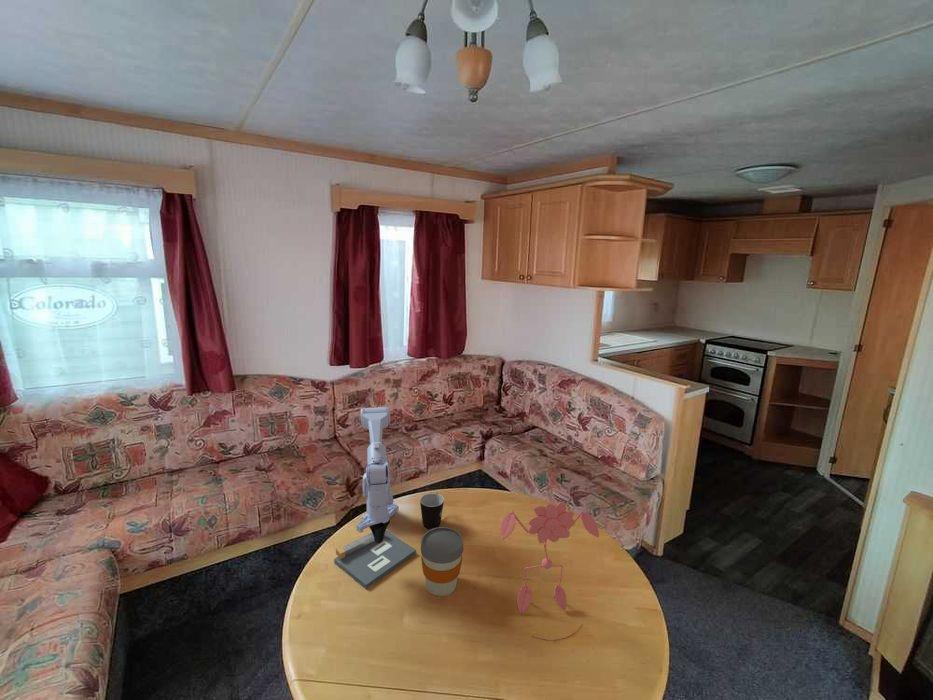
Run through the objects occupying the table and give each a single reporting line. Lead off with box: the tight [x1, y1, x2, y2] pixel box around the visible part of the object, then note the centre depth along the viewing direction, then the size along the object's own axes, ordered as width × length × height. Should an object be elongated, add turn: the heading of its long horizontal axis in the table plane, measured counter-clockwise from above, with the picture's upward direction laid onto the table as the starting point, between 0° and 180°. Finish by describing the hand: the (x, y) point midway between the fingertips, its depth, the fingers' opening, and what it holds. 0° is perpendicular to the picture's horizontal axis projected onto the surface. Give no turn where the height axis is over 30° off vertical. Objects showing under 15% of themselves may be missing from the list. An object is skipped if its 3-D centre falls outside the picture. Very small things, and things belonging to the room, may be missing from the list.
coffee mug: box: [419, 492, 445, 531], centre depth 152 cm, size 12×9×10 cm
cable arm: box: [335, 532, 375, 559], centre depth 136 cm, size 15×3×2 cm, turn 133°
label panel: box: [333, 529, 417, 590], centre depth 133 cm, size 20×16×4 cm
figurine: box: [499, 501, 600, 643], centre depth 110 cm, size 15×26×35 cm, turn 93°
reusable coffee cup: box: [420, 526, 465, 597], centre depth 123 cm, size 13×13×15 cm
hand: (378, 541), depth 128 cm, fingers closed
